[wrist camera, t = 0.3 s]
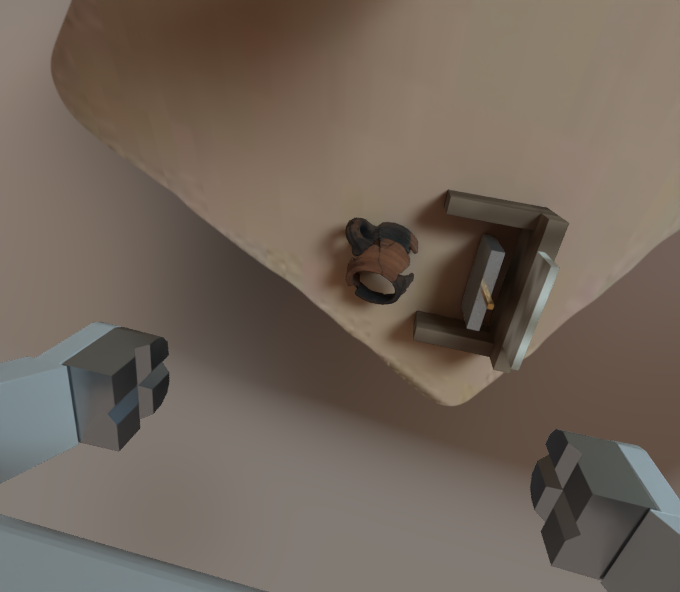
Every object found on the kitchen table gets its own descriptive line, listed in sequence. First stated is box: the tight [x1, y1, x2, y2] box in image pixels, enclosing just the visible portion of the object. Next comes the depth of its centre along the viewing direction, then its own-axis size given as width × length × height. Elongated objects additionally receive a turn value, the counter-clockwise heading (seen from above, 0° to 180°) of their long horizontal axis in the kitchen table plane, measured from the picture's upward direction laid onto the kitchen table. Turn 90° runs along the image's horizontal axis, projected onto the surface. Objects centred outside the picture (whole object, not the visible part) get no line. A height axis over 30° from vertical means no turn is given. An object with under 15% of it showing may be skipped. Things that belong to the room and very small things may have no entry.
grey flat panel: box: [461, 234, 505, 331], centre depth 49 cm, size 10×2×11 cm, turn 171°
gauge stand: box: [413, 190, 569, 373], centre depth 48 cm, size 19×12×13 cm, turn 171°
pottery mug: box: [346, 218, 418, 305], centre depth 53 cm, size 12×10×8 cm
